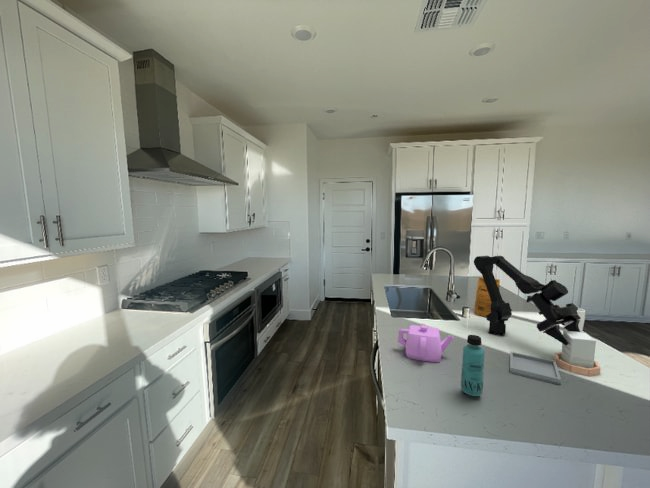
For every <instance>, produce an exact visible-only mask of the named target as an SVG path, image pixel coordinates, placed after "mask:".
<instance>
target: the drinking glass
mask: <svg viewBox="0 0 650 488" xmlns="http://www.w3.org/2000/svg"><path fill="white" fill-rule="evenodd" d="M577 313H578V315H579V317H580V318H581V319H579V320H580V322H579V324H578V327H579V330H580V332H583V330H584V325H585V319H586V318H585V317H586V310H585V309H583V308H581V307H578V310H577ZM565 331H567V330H566V329H565Z"/></svg>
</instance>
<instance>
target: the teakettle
mask: <svg viewBox="0 0 650 488" xmlns="http://www.w3.org/2000/svg"><path fill="white" fill-rule="evenodd" d="M404 334H406V335H407V336H406V338H404ZM397 338H398V339H397V342H398V343H399V344H400V345H402V346H403V347H405V354H406V357H407V358H408V359H413V360H416V361H421V362H422V361H423V362H431V363H440V362H441V359H442V354H443V353H444V352H445V350H446V349H447V348H448V346H449V345H451V342H452V341H453V339H454V336H453V335H450V334H448V336H447V337H446V338H444V339H442V340H441V335H440V329H439V328H437V327H433V326H427V325H426V324H423V323H422V324H421V325H417V324H416V325H415V324H412V325H411V324H410V325H409V328H402V327H401V328H399V330H398V337H397Z"/></svg>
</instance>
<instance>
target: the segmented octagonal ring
mask: <svg viewBox="0 0 650 488" xmlns="http://www.w3.org/2000/svg"><path fill="white" fill-rule="evenodd" d="M561 353H562V351H561V352H554V356H553V357H554V360H553V361H556V364H557V367H559V368H561V369H563V370H565V371H568V372H570V373H573V374H576V375H582V376H586V377H592V376H593V377H594V376H600V375H601V366H600V365H599V363H598V361H597V360H594V365H593V368H583V367H578V366H574V365H570V364H568V363H566V362H564V361H562V360H561Z"/></svg>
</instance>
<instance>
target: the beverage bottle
mask: <svg viewBox="0 0 650 488" xmlns="http://www.w3.org/2000/svg"><path fill="white" fill-rule="evenodd" d="M466 342H467V344H465V345H464V346H463V347H462V363H461V374H460V388H461V391H463V393H465V394H467V395H469V396H473V397H478V396H479V397H480V396H481V395H482V394H483V390H484V389H483V387H484V375H485V374H484V368H485V367H484V366H485V365H484V363H485V353H486V352H485V350H484V348H483V347H481V345H482V337H480V336H479V335H476V334H468V336H467V340H466Z"/></svg>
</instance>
